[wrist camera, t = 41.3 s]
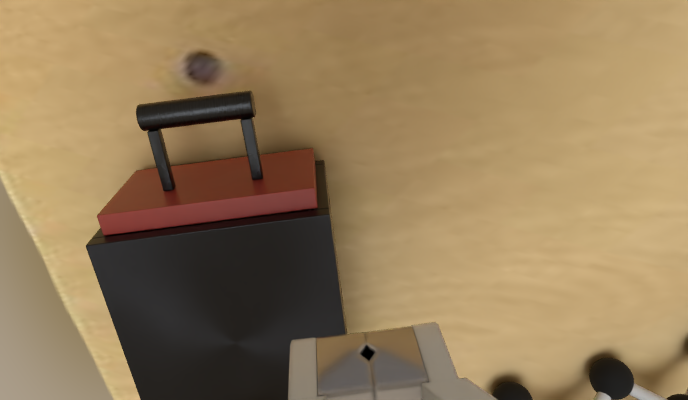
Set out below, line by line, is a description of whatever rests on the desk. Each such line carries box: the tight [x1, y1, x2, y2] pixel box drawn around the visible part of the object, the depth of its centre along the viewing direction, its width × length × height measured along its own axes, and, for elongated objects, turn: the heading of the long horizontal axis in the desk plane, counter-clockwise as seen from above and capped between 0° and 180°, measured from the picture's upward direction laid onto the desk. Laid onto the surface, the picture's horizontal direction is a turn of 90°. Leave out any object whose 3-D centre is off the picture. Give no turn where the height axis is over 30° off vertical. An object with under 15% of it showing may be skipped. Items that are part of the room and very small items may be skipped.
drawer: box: [97, 91, 318, 236], centre depth 31 cm, size 18×11×7 cm, turn 6°
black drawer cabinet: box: [86, 160, 347, 400], centre depth 33 cm, size 15×13×9 cm
